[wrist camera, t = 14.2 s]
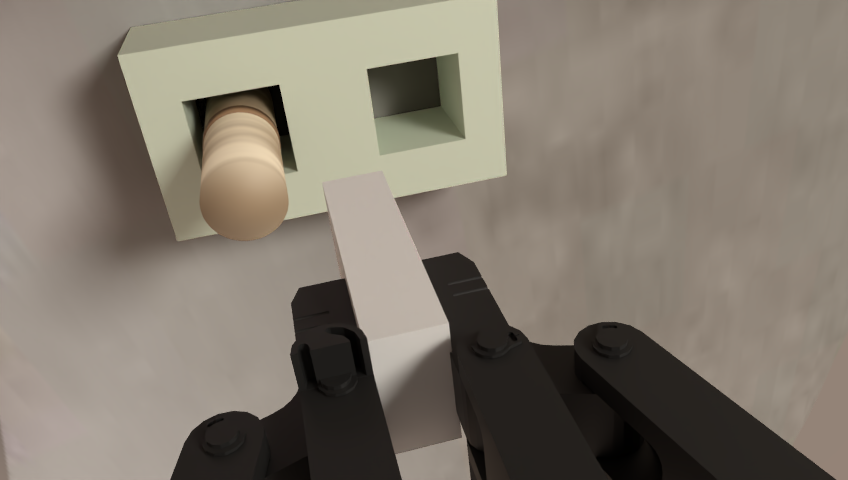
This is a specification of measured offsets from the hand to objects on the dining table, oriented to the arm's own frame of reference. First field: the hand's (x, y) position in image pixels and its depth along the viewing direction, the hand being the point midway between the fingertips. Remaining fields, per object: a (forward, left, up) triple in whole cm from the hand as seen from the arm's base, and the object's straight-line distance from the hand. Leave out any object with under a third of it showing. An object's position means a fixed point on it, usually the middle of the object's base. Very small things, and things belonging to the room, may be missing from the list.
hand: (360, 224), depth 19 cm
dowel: (+6, -4, -29) cm, 30 cm away
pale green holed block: (+6, +1, -29) cm, 30 cm away
